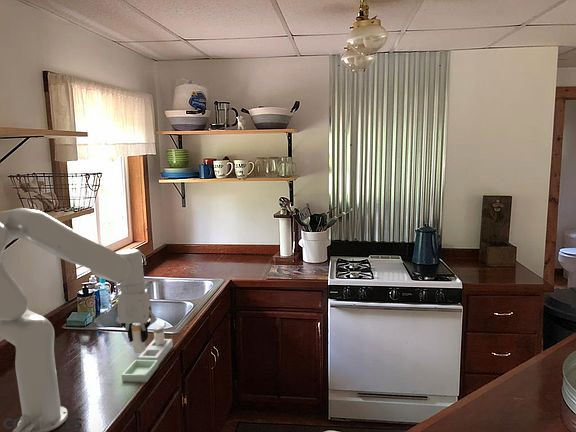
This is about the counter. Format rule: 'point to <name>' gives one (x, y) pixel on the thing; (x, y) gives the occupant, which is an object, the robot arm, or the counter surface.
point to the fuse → (159, 336)
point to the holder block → (156, 351)
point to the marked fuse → (137, 338)
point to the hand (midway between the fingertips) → (138, 339)
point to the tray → (140, 371)
